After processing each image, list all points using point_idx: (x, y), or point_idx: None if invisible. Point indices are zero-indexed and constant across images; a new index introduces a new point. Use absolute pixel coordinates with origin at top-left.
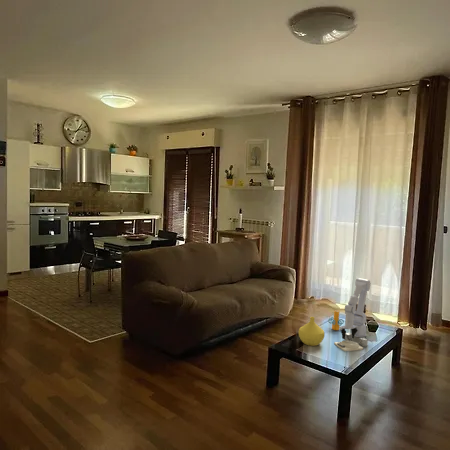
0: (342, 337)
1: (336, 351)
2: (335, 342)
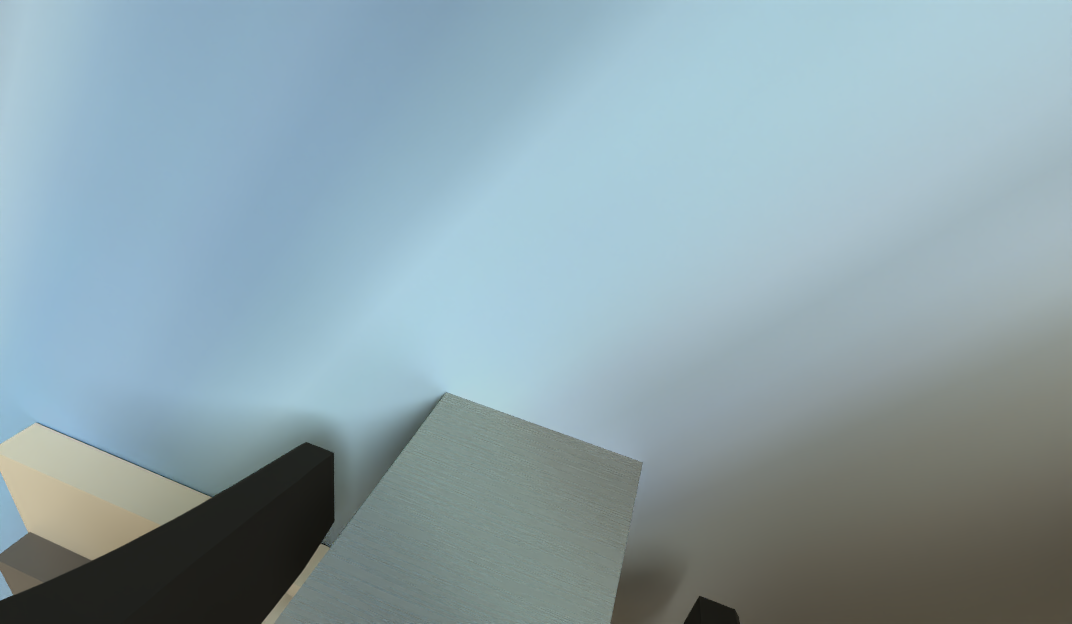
0: (277, 465)
1: (7, 586)
2: (13, 469)
